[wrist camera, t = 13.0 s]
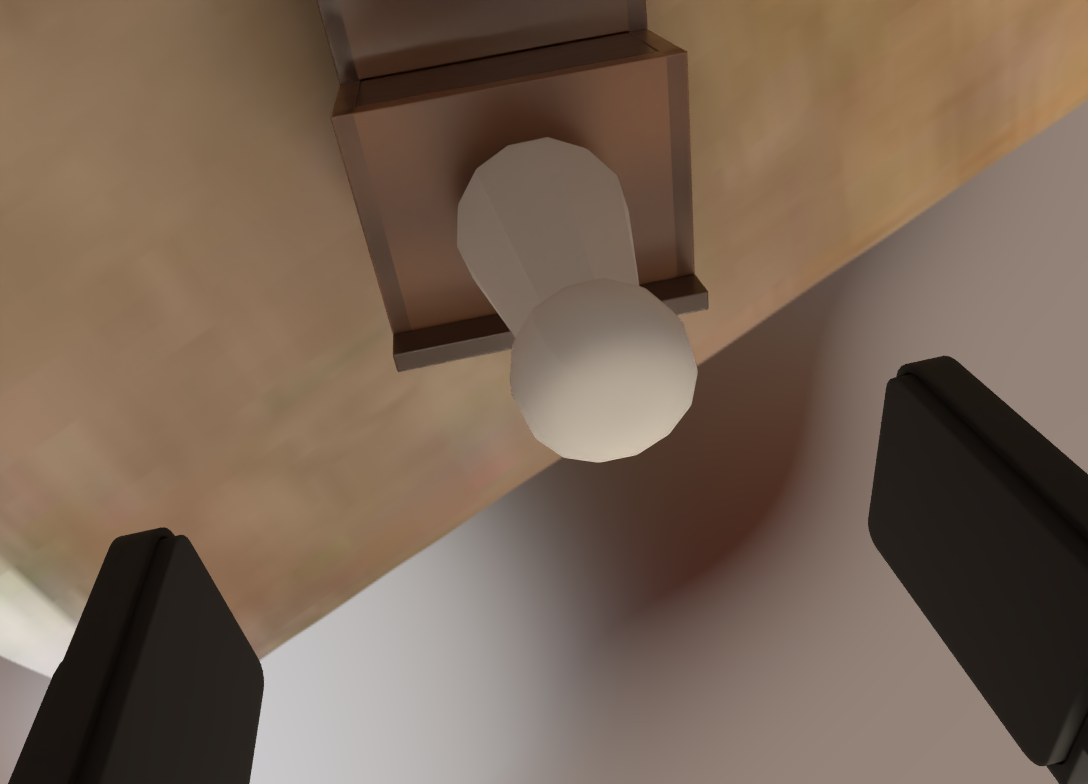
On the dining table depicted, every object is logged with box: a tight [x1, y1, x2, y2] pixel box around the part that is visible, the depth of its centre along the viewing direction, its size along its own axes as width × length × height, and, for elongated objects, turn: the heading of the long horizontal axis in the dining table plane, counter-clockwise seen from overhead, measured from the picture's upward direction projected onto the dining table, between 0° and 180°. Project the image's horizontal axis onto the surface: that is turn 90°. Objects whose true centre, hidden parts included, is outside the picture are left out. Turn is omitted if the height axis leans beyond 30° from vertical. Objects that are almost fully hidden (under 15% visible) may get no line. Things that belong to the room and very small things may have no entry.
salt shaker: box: [457, 137, 698, 463], centre depth 22 cm, size 6×6×13 cm
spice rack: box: [317, 0, 708, 372], centre depth 29 cm, size 16×12×11 cm
